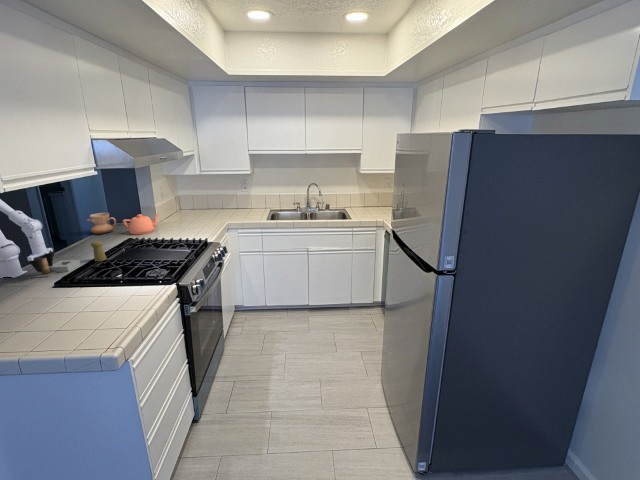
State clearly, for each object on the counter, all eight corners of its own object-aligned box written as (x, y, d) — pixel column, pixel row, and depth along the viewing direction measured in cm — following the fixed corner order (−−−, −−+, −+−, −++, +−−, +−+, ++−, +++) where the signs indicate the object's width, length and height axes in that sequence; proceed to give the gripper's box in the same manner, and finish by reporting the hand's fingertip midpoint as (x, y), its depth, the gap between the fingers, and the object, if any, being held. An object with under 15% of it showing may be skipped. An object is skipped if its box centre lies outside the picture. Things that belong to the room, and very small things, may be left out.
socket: (49, 272, 175) (47, 267, 174) (62, 265, 185) (60, 260, 184) (68, 271, 176) (67, 266, 175) (80, 264, 185) (79, 259, 184)
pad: (32, 277, 169) (32, 276, 169) (44, 271, 177) (43, 270, 177) (48, 276, 170) (48, 276, 170) (59, 270, 177) (59, 270, 177)
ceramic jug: (87, 236, 241) (83, 217, 237) (93, 231, 254) (88, 213, 250) (115, 234, 247) (112, 215, 243) (119, 229, 260) (116, 211, 256)
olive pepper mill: (104, 257, 196) (100, 239, 193) (108, 259, 193) (104, 241, 189) (92, 260, 192) (88, 242, 189) (96, 262, 188) (92, 243, 185)
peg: (39, 275, 171) (35, 260, 169) (44, 272, 175) (40, 258, 172) (47, 274, 172) (43, 259, 169) (52, 271, 175) (47, 257, 173)
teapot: (163, 227, 260) (160, 210, 256) (161, 232, 244) (157, 215, 240) (127, 231, 252) (124, 214, 248) (122, 237, 237) (118, 218, 233)
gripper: (34, 248, 162) (42, 274, 166) (55, 239, 176) (62, 263, 180) (19, 249, 161) (28, 274, 165) (41, 240, 175) (48, 264, 179)
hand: (45, 269), depth 173 cm, fingers open, 7 cm apart
